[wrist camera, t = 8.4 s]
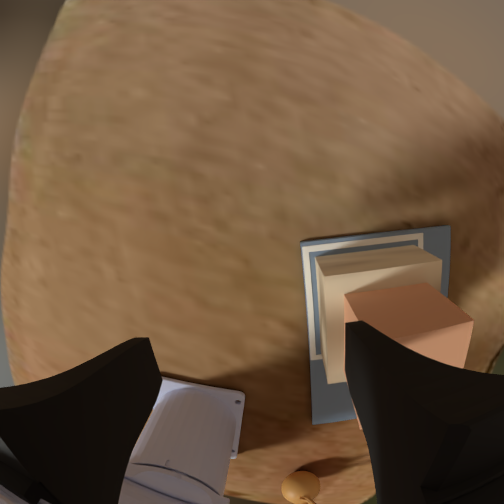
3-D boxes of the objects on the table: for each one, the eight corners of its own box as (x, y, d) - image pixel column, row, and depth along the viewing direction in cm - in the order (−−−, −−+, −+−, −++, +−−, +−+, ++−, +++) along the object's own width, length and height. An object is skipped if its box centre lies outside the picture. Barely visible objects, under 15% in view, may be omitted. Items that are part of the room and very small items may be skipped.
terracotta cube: (418, 357, 16) (451, 406, 11) (343, 370, 16) (360, 429, 11) (427, 282, 14) (474, 320, 10) (343, 294, 15) (369, 342, 10)
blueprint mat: (426, 398, 21) (428, 401, 21) (312, 421, 22) (312, 425, 22) (447, 225, 18) (451, 226, 17) (300, 241, 19) (300, 243, 18)
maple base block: (409, 335, 19) (430, 363, 16) (320, 350, 20) (328, 384, 16) (414, 244, 18) (442, 260, 14) (314, 256, 19) (324, 276, 15)
